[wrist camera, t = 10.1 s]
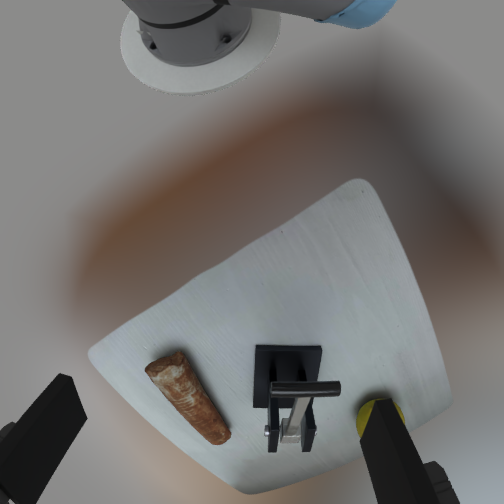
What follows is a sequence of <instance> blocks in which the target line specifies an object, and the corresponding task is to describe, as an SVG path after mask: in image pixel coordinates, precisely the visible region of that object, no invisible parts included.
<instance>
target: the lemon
mask: <svg viewBox="0 0 504 504" xmlns="http://www.w3.org/2000/svg"><path fill="white" fill-rule="evenodd" d="M375 400H381V399H375ZM375 400H371V401H369V402H367V403H366V404H364V405H363V406H362V407H361V409H360V410H359V413H358V416H357V419H356V428H357V431H358V434H359V436H360V438H361V437H362V434H363V432H364V429H365V427H366V424H367V421H368V419H369V416H370V413H371V411H372V408H373V405H374V402H375ZM394 404H395V406H396V408H397V410H398V412H399V414H400V416H401V418H402V420H403V423H404V425H405V420H404V416H403V413H402V411H401V409H400V407H399V406H398V405H397V404H396V403H395V402H394Z"/></svg>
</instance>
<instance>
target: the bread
mask: <svg viewBox="0 0 504 504" xmlns="http://www.w3.org/2000/svg"><path fill="white" fill-rule="evenodd" d="M145 372H146V373H147V374H148V376H149V377H150V379H151V380H152V382H153V383H154V384H155V385H156V386H157V387H158V388H159V390H160V391H161V392H162V393H163V395H164V396H165V397H166V398H167V399H168V400H169V401H170V402H171V403H172V405H173V406H174V407H175V408H176V410H177V411H178V412H179V413H180V414H181V415H182V416H183V417H184V418H185V419H186V420H187V421H188V422H189V423H190V424H191V425H192V426H193V427H194V428H195V429H196V430H197V431H198V432H199V433H200V434H201V435H202V436H203V437H204V438H205V439H206V440H208V441H209V442H210V443H211V444H213V445H221V444H223V443H225V442H226V441H227V440H228V439H230V437H231V432H230V430H229V429H228V427H227V426H226V425H225V423H224V422H223V420H222V418H221V416H220V414H219V413H218V411H217V410H216V408H215V407H214V405H213V404H212V402H211V401H210V399H209V398H208V396H207V395H206V393H205V391H204V389H203V388H202V386H201V384H200V383H199V380H198V379H197V377H196V375H195V374H194V372H193V370H192V368H191V366H190V365H189V363H188V361H187V359H186V358H185V356H184V354H183V353H182V352H179V351H177V352H176V353H175V354H173V355H172V356H169V357H163V358H160V359H158V360H156V361H154V362H151V363H150V364H149V365H148V366H147V367H146V368H145Z"/></svg>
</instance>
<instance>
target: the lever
mask: <svg viewBox="0 0 504 504" xmlns="http://www.w3.org/2000/svg"><path fill="white" fill-rule="evenodd" d="M340 393H341V384H340V381H316V382H271V398H295V401H294V404H293V407H292V410H291V413H290V417H289V418H282V421H281V425H280V443H298V442H299V440H300V438H301V437H302V425H301V420H302V418H303V415H304V413H305V411H306V408H307V406H308V403H309V401H310V398H311V397H334V396H339V395H340Z"/></svg>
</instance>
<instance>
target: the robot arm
mask: <svg viewBox="0 0 504 504" xmlns="http://www.w3.org/2000/svg"><path fill="white" fill-rule="evenodd" d="M122 1H124V3H125V4H126V5H127V6H128V7H129V8H130V9H131V10H132V11H133V12H134V13H135V14H136V15H137V16H138V20H139V28H140V31H137V30H136V31H137V32H138V33H139V34H140V35H141V39H142V42H143V44H144V45H145V47H146V48H147V49H148V50H149V51H150V52H151V53H152V54H153V55H154V56H155V57H156V58H157V59H159V60H160V61H162V62H164V63H167V64H170V65H173V66H179V67H194V66H201V65H205V64H209V63H212V62H214V61H217V60H219V59H221V58H223V57H225V56H226V55H228V54H230V53H231V52H232V51H234V50H235V49H236V48H237V47H238V46H239V45H240V44H241V43H242V42H243V40H244V39H245V38H246V36H247V34H248V32H249V30H250V27H251V23H252V10H251V8H257V9H264V10H270V11H277V12H282V13H288V14H293V15H298V16H302V17H307V18H311V19H314V21H316V22H319V23H332V24H336V25H340V26H344V27H348V28H353V29H360V28H364V27H369V26H371V25H373V24H375V23H376V22H378V21H379V20H380V19H382V17H384V16H385V15H386V13H388V12H389V10H390V9H391V8H392V7H393V5H394V4H395V2H396V1H397V0H122ZM86 420H87V416H86V414H85V411H84V409H83V406H82V404H81V401H80V398H79V396H78V393H77V390H76V387H75V385H74V382H73V379H72V377H71V376H67V375H64V374H61V373H60V374H58V375H57V376H56V377H55V379H54V380H53V381H52V382H51V383H50V384H49V385H48V386H47V388H46V389H45V390H44V391H43V392H42V393H41V395H40V396H39V397H38V398H37V399H36V400H35V401H34V402H33V404H32V405H31V406H30V407H29V408H28V410H27V411H26V412H25V413H24V414H23V415H22V417H21V418H20V419H19V421H17V423H14V422H11V423H9V424H7V425H6V426H4V427H3V428H2V429H1V430H0V504H9V502H8V501H9V499H11V500H12V501H13V502H14V503H15V504H36V503H37V501H38V499H39V498H40V496H41V494H42V492H43V491H44V489H45V487H46V485H47V484H48V482H49V480H50V479H51V477H52V475H53V474H54V472H55V470H56V468H57V467H58V465H59V464H60V462H61V460H62V459H63V457H64V455H65V454H66V452H67V450H68V449H69V447H70V445H71V444H72V442H73V441H74V439H75V438H76V436H77V434H78V433H79V431H80V430H81V428H82V426H83V425H84V423H85V422H86ZM360 444H361V448H362V451H363V454H364V457H365V461H366V464H367V467H368V471H369V474H370V477H371V481H372V484H373V488H374V491H375V495H376V498H377V502H378V504H460V502H459V500H458V498H457V496H456V494H455V492H454V489H452V485H451V483H450V481H448V477H447V475H446V473H445V471H444V469H443V468H442V467H441V466H440V465H439V464H438V463H437V462H435V461H432V462H429V463H425V464H423V463H422V460H421V458H420V456H419V454H418V452H417V450H416V448H415V446H414V444H413V441H412V439H411V437H410V435H409V433H408V431H407V429H406V427H405V425H404V423H403V420H402V418H401V416H400V414H399V412H398V410H397V408H396V406H395V404H394V402H393V400H392V398H389V399H381V400H375V402H374V405H373V408H372V411H371V413H370V416H369V419H368V421H367V424H366V427H365V429H364V432H363V434H362V437H361V439H360Z"/></svg>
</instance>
